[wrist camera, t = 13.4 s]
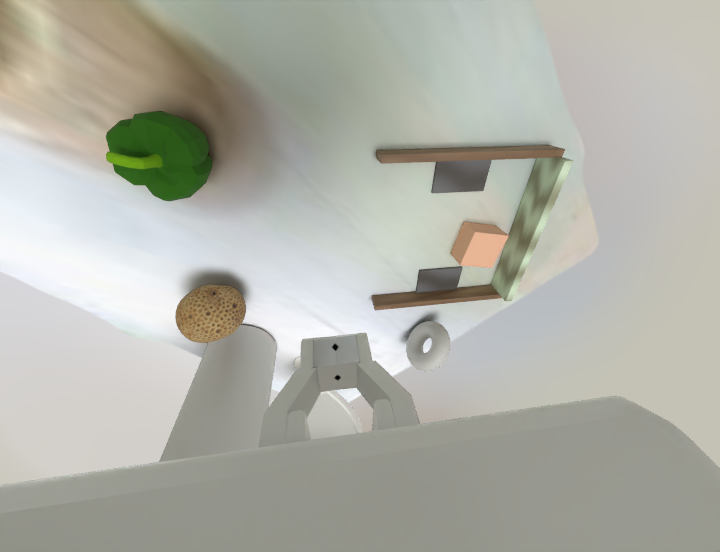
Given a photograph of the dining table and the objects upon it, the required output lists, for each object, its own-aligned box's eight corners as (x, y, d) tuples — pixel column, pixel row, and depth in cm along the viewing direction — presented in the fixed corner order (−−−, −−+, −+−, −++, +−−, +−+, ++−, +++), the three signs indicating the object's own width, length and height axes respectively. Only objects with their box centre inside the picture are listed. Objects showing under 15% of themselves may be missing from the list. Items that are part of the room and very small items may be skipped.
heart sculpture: (356, 369, 62) (369, 455, 48) (345, 381, 64) (353, 466, 50) (296, 351, 56) (290, 444, 41) (285, 364, 58) (276, 458, 43)
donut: (408, 343, 59) (423, 383, 51) (397, 338, 58) (411, 378, 50) (441, 315, 55) (462, 354, 47) (430, 308, 54) (450, 347, 46)
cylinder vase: (282, 328, 51) (261, 484, 31) (271, 367, 58) (248, 518, 38) (211, 318, 47) (134, 489, 27) (208, 361, 54) (145, 526, 34)
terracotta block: (463, 221, 43) (475, 232, 40) (495, 225, 45) (509, 235, 41) (450, 252, 47) (459, 265, 43) (479, 255, 48) (491, 267, 45)
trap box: (376, 150, 35) (384, 158, 31) (549, 145, 38) (577, 152, 34) (371, 299, 50) (376, 318, 46) (495, 288, 53) (509, 304, 49)
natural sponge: (222, 258, 41) (199, 300, 33) (263, 294, 46) (251, 338, 38) (180, 286, 43) (149, 332, 35) (223, 317, 48) (205, 364, 40)
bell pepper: (235, 141, 32) (208, 159, 24) (206, 194, 35) (174, 226, 27) (159, 86, 28) (96, 86, 20) (134, 151, 31) (71, 173, 23)
